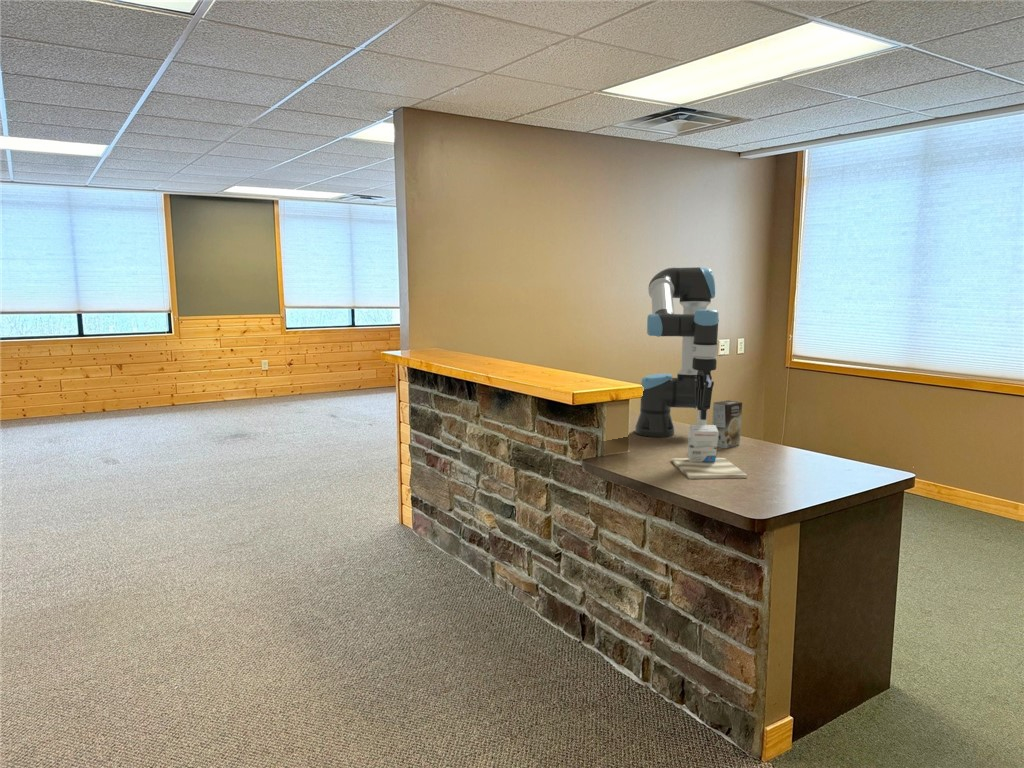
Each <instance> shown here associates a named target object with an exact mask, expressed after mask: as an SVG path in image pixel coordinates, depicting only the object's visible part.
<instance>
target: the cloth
mask: <svg viewBox="0 0 1024 768" xmlns="http://www.w3.org/2000/svg"><path fill="white" fill-rule="evenodd" d="M670 459H671V461H670V462H671V463H672V464H674V466H675V467H676V468H678V470H680V471H681V473H683V475H685V476H686V477H687V478H688V479H691V480H692V479H693V480H695V479H697V480H699V479H700V480H701V479H747V478H748V475H747V473H745V472H744V471H743V470H741V469H740V468H739V467H737V466H736V465H734V464H733V462H731V461H729V460H728V459H726V458H725V457H716V460H715V462H689V459H688V457H683V458H681V457H679V458H670Z"/></svg>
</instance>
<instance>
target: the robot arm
mask: <svg viewBox="0 0 1024 768" xmlns="http://www.w3.org/2000/svg"><path fill="white" fill-rule="evenodd" d="M647 291H648V296H649V297H650V298H651V314H650V313H649V314H647V321H646V334H647V335H648V336H649V337H682V341H681V342H682V343H681V345H682V349H681V351H682V352H681V369H680V370H679V371H678V372H677V377H673V375H672V374H671V373H663V372H662V373H654V374H649V375H645V376H644V377H642V379H641V381H640V382H641V383H640V386H641V385H642V386H643V387H644V391H643V396H642V397H641V396H640V404H639V405H640V407H639V409H640V413H639V416H638V418H637V421H636V424H635V428H634V433H635V434H637V435H640V436H645V437H651V438H652V437H655V438H658V437H659V438H664V437H665V438H666V437H671V436H673V435H675V426H674V422H673V419H672V416H671V409H672V408H681V409H683V408H684V409H693V410H694V409H697V417H696V418H697V419H696V425H708V424H707V423H708V410H710V408H711V405H712V403H711V402H712V395H713V389H714V385H715V382H714V381H715V380H713V379H712V377H713V376H712V373H711V372H713V371H716V370H717V363H718V362H717V360H718V359H717V358H716V357H718V345H719V344H718V335H719V334H718V332H719V322H720V319H719V311H718V310H716V309H707V308H708V306H709V305H710V304H711V302H712V301H711V300H712V299H715V297H716V282H715V276H714V272H713V270H712V269H711V268H710V267H699V266H698V267H668V268H665V269H663V270H661V271H659V272H657V273H656V274H655V275H654V276H653V277H652V278H651V280H650V281H649V284H648V290H647ZM674 299H679V304H680V305H681V307H682V309H683V313H682V314H681V313H675V309H674Z"/></svg>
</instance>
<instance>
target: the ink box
mask: <svg viewBox="0 0 1024 768" xmlns="http://www.w3.org/2000/svg"><path fill="white" fill-rule="evenodd" d="M688 431H689V432H688V442H687V453H686V454H687V458H688V459H689V462H715V460H716V458H717V451H718V447H717V444H718V435H719V432H718V429H717V427H716V425H712V424H707V425H697V424H689V430H688Z"/></svg>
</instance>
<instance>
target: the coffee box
mask: <svg viewBox="0 0 1024 768" xmlns="http://www.w3.org/2000/svg"><path fill="white" fill-rule="evenodd" d="M742 410H743V402H741V401H735V400H721V401H714V402H713V406H712V421H711V422H712V424H711V425H716V427H717V429H718V432H719V435H718V444H717V448H722V449H728V448H733V447H738V446H740V443H741V429H742V428H741V426H742V413H743V411H742ZM737 445H738V446H737Z"/></svg>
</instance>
